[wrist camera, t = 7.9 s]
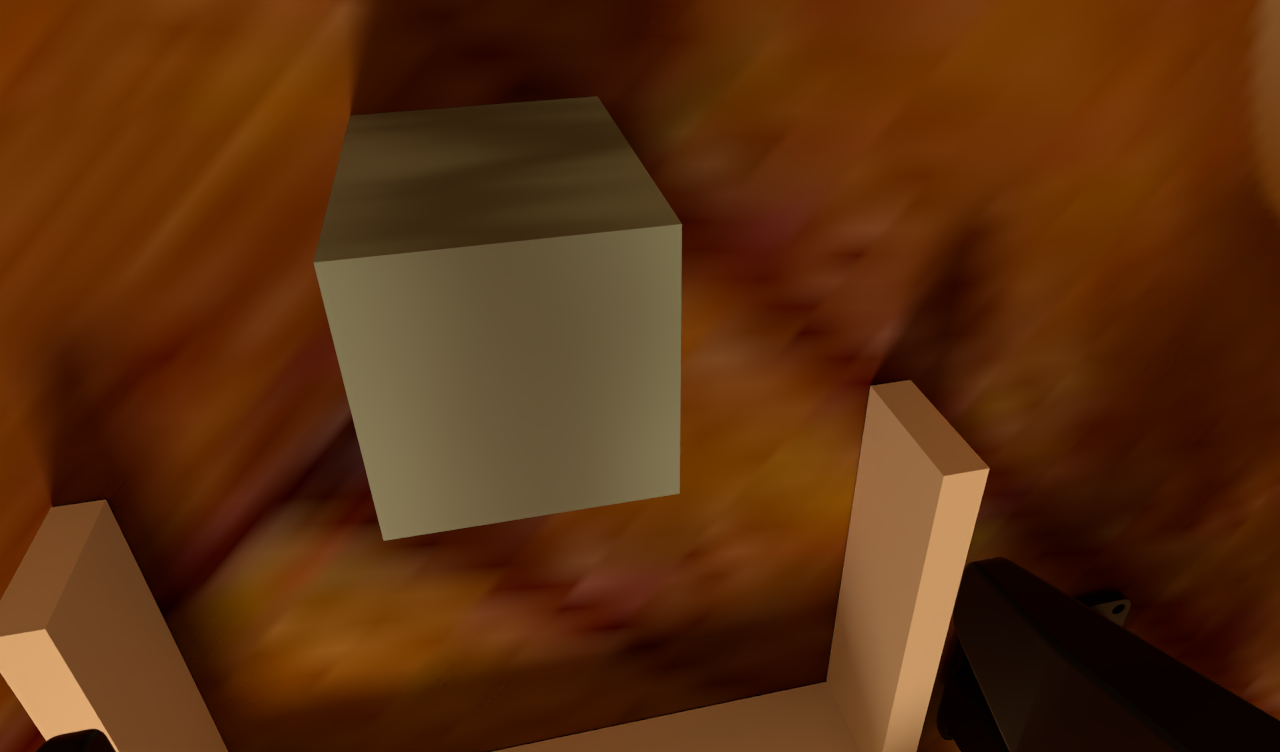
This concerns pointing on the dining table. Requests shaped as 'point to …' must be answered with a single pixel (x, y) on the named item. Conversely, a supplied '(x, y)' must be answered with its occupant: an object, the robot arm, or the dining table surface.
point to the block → (503, 313)
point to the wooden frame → (653, 748)
